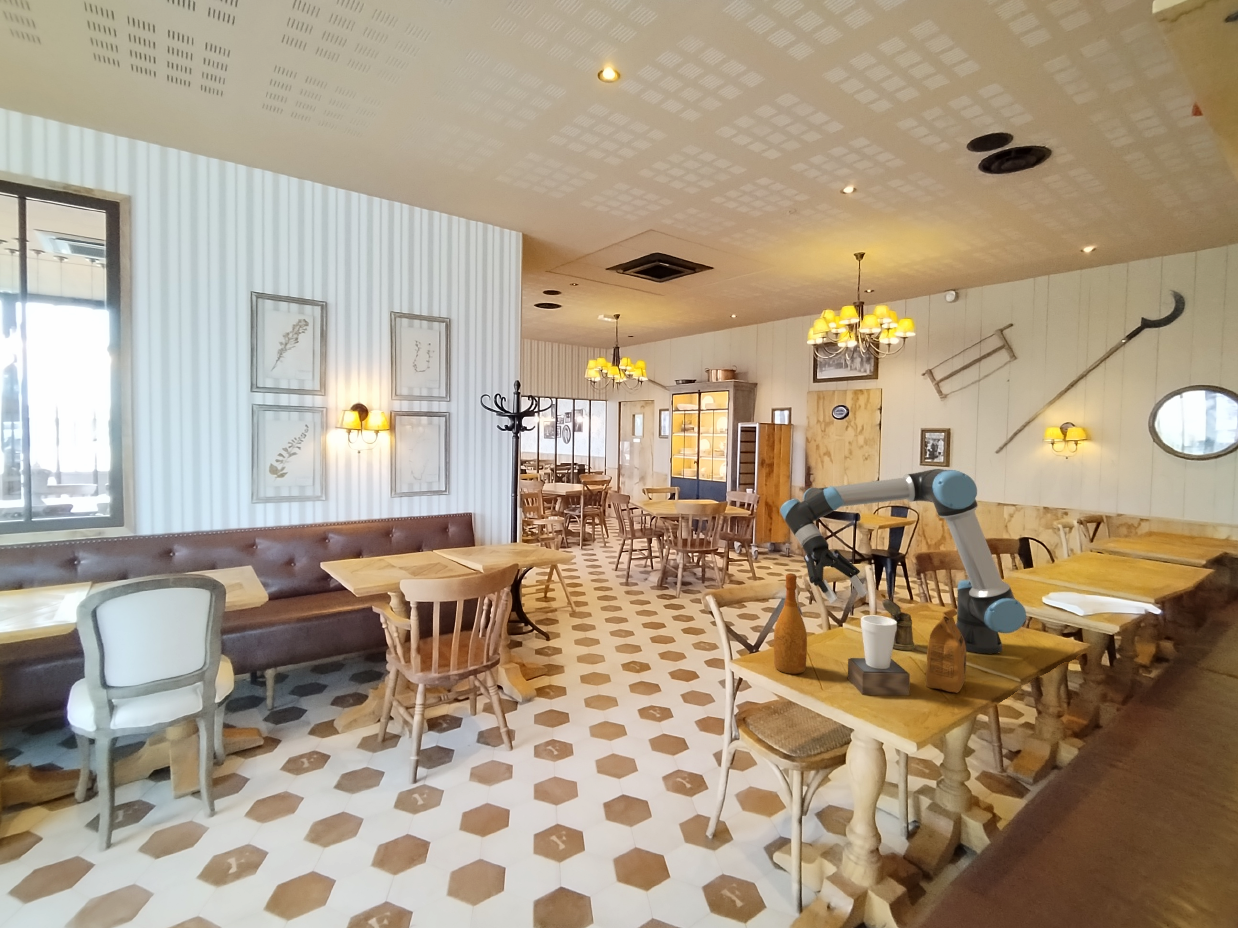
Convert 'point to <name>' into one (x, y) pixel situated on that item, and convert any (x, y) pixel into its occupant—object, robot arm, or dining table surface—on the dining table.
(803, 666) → the wine bottle
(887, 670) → the walnut stand
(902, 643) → the wooden mug
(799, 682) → the dining table surface
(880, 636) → the foam cup
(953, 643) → the coffee package
